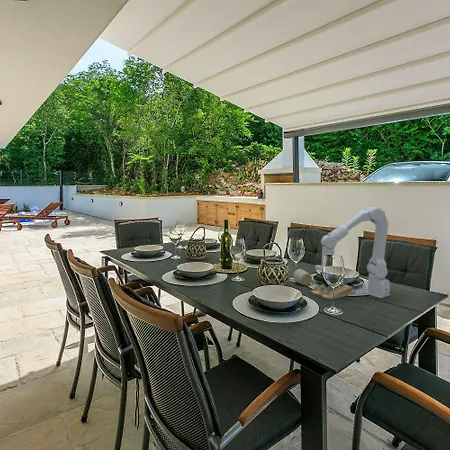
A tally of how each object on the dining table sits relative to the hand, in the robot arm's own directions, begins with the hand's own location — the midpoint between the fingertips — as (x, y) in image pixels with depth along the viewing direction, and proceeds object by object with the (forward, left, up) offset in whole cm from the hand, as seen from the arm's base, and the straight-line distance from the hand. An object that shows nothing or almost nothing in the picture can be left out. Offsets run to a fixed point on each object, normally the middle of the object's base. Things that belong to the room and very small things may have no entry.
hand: (326, 286), depth 165 cm
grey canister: (+19, -4, -5) cm, 20 cm away
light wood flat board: (0, -5, -4) cm, 7 cm away
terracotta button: (0, -10, -2) cm, 10 cm away
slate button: (0, 0, -3) cm, 3 cm away
